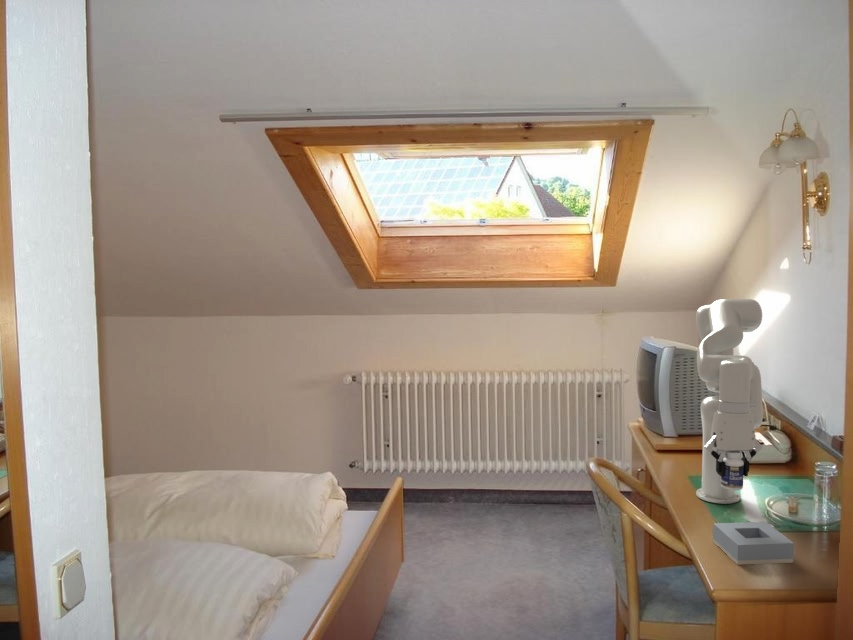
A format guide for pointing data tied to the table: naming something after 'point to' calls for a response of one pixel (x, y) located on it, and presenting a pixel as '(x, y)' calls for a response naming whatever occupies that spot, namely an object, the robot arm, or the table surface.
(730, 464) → the pill bottle
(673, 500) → the table surface
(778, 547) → the socket block
